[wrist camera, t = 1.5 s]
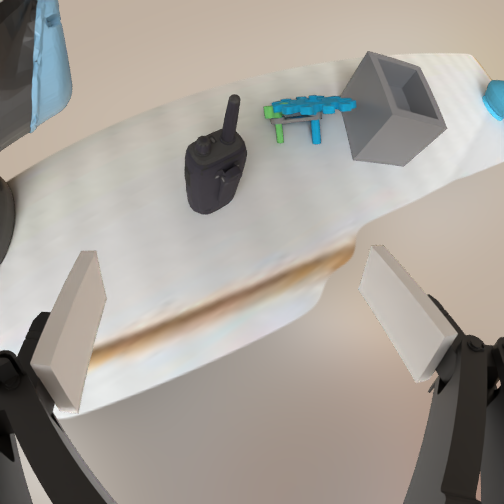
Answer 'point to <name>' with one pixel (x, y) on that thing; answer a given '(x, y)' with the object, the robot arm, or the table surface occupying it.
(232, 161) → the two-way radio
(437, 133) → the charging dock
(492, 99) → the perfume bottle
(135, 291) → the table surface
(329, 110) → the gear
